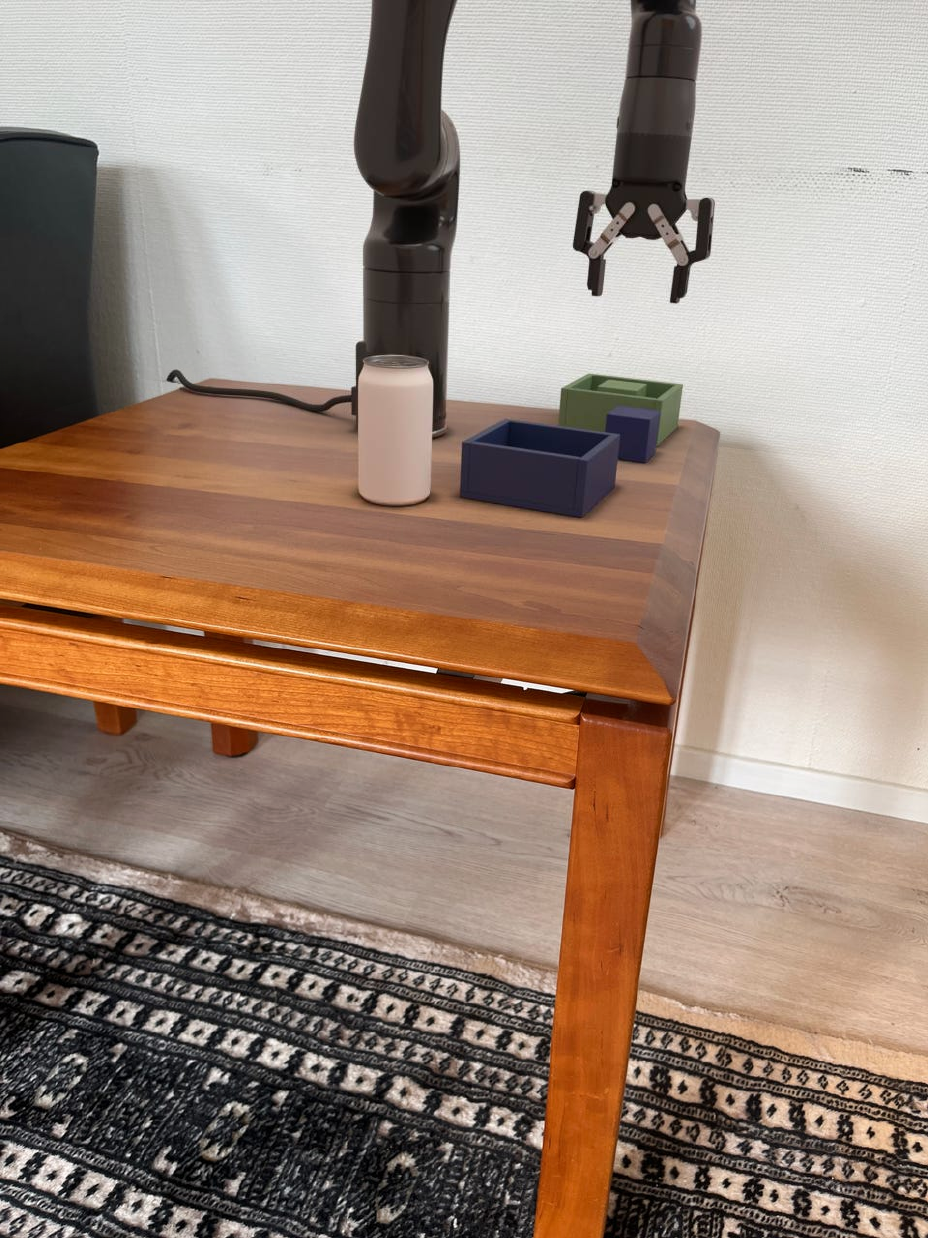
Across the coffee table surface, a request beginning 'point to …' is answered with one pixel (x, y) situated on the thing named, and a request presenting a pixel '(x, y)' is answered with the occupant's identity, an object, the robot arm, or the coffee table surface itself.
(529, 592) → the coffee table surface
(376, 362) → the can
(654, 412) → the navy block
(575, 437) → the navy bin
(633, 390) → the sage block
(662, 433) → the sage bin
